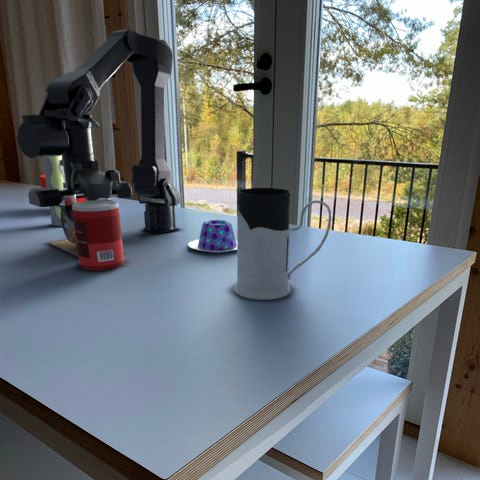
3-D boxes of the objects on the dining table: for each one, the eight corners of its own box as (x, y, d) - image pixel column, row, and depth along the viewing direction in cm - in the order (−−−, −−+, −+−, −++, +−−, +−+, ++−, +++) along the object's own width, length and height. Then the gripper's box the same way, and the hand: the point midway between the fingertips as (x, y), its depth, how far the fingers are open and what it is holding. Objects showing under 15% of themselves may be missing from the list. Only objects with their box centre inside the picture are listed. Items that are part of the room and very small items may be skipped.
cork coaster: (79, 238, 106) (79, 237, 106) (120, 254, 93) (119, 252, 93) (48, 243, 101) (48, 242, 101) (86, 260, 89) (86, 259, 89)
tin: (63, 238, 102) (55, 199, 98) (77, 236, 104) (70, 197, 100) (92, 253, 91) (85, 209, 88) (107, 249, 93) (101, 206, 90)
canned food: (132, 261, 89) (126, 201, 84) (108, 273, 82) (100, 208, 78) (97, 257, 91) (90, 199, 87) (70, 268, 84) (61, 206, 80)
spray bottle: (74, 225, 119) (63, 140, 111) (54, 227, 116) (41, 140, 108) (69, 222, 122) (57, 139, 115) (49, 224, 120) (36, 139, 112)
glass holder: (235, 280, 78) (235, 187, 72) (321, 281, 78) (328, 187, 72) (233, 299, 70) (232, 195, 64) (329, 300, 70) (338, 196, 64)
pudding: (258, 247, 99) (258, 222, 97) (216, 258, 90) (216, 231, 88) (217, 238, 106) (217, 214, 104) (176, 247, 98) (175, 222, 96)
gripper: (45, 160, 77) (59, 253, 83) (144, 154, 89) (150, 236, 95) (20, 156, 84) (35, 242, 91) (114, 151, 96) (122, 228, 102)
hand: (88, 237), depth 94 cm, fingers closed on tin, 3 cm apart
